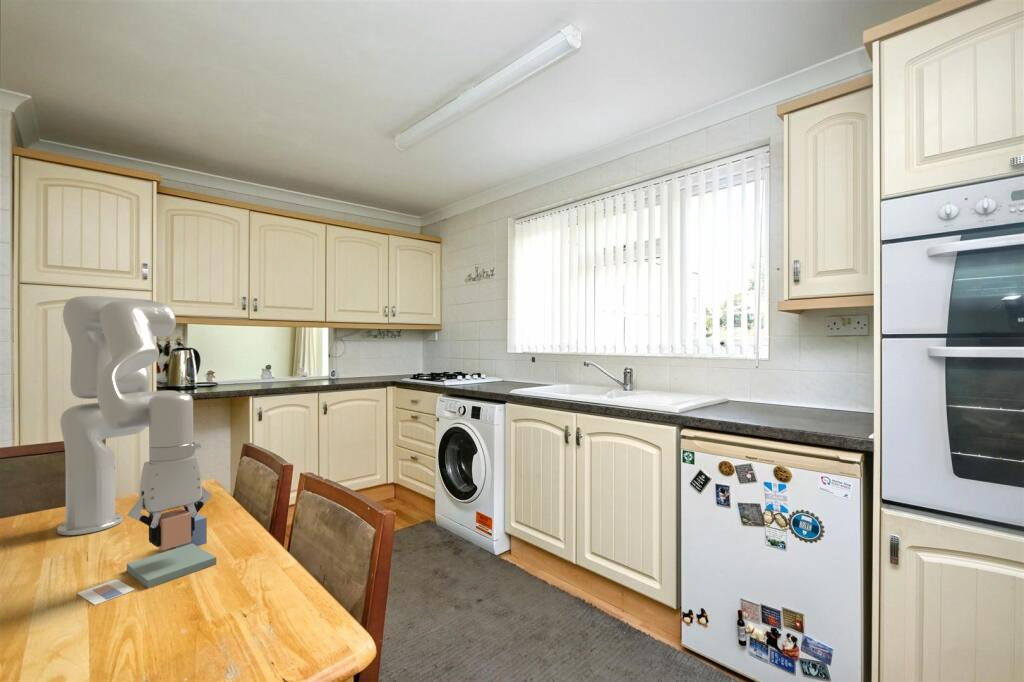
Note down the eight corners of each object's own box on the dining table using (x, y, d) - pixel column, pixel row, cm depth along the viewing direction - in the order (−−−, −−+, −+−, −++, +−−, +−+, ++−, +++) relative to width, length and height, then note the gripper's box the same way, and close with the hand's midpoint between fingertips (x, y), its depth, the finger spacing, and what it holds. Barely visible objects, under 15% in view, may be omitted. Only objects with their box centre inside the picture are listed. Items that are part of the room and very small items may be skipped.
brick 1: (153, 544, 98) (153, 515, 98) (181, 536, 102) (181, 508, 102) (163, 550, 95) (162, 520, 95) (191, 541, 99) (190, 513, 99)
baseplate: (126, 570, 97) (126, 563, 97) (192, 549, 107) (192, 543, 107) (147, 588, 90) (147, 580, 90) (216, 564, 100) (216, 557, 100)
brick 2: (173, 545, 110) (173, 519, 110) (197, 538, 114) (197, 513, 114) (182, 551, 107) (182, 524, 107) (206, 543, 111) (206, 517, 111)
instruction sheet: (77, 593, 89) (77, 592, 89) (116, 579, 94) (116, 578, 94) (94, 605, 85) (94, 604, 85) (134, 590, 90) (134, 589, 90)
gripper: (208, 443, 108) (209, 523, 108) (114, 458, 94) (114, 550, 94) (223, 447, 103) (224, 530, 103) (127, 464, 90) (127, 560, 90)
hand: (172, 539), depth 99 cm, fingers closed on brick 1, 5 cm apart
